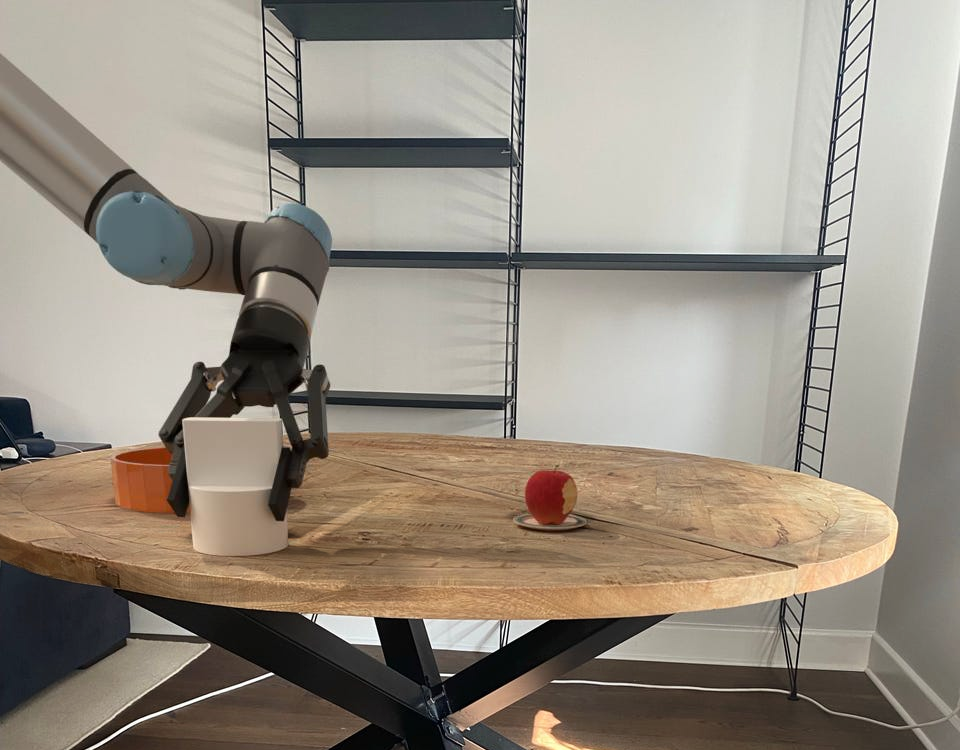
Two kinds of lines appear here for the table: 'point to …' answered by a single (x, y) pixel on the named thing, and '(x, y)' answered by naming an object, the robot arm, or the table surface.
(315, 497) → the table surface
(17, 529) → the table surface
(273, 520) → the cylinder with rectangular tab
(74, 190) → the robot arm
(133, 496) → the orange shallow round tray
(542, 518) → the apple
